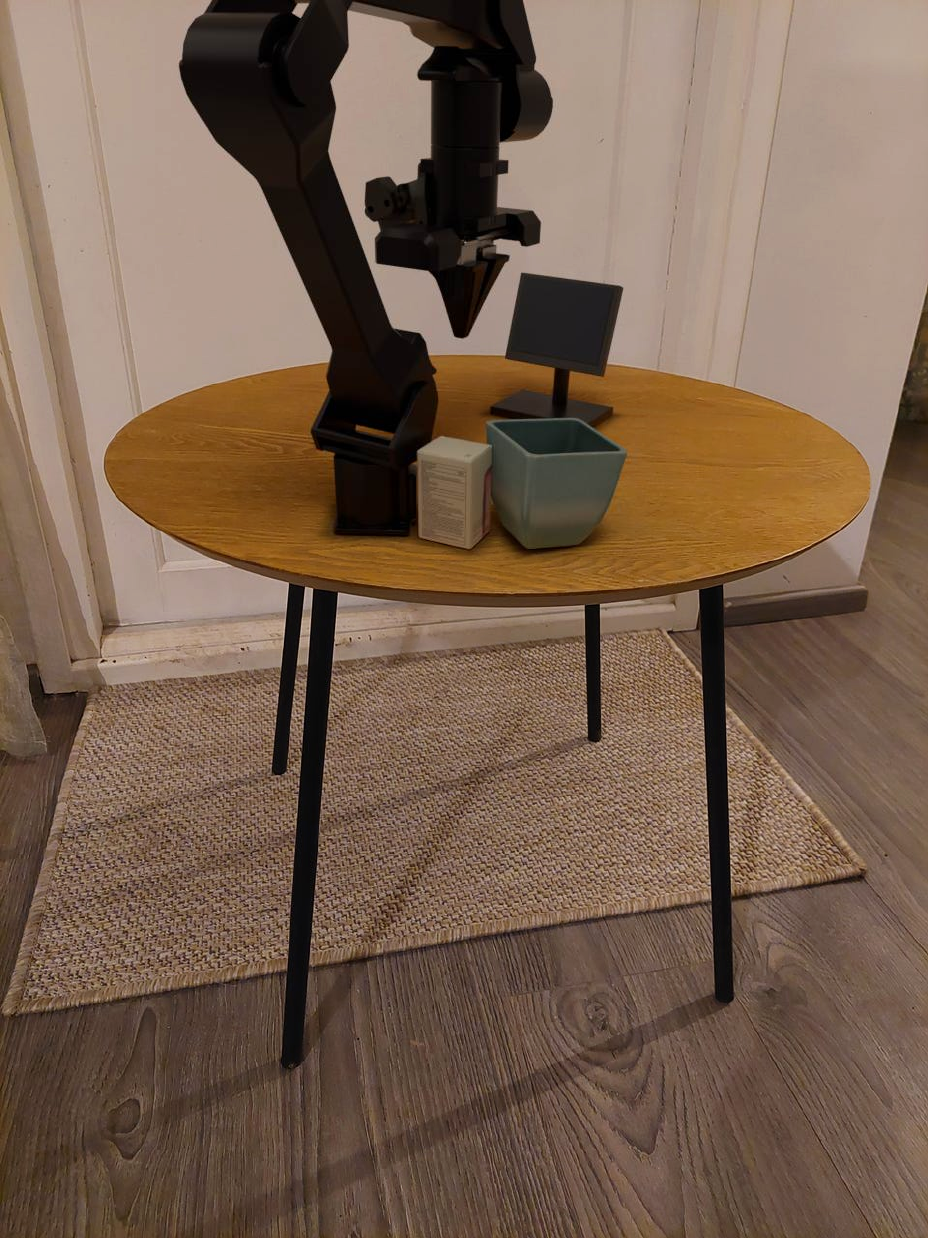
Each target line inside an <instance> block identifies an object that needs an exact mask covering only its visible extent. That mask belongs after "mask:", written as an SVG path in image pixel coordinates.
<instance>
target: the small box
mask: <svg viewBox="0 0 928 1238" xmlns="http://www.w3.org/2000/svg"><path fill="white" fill-rule="evenodd" d="M416 466H417V477H418V508H417V517H418V519H417V521H418V522H417V523H418V525H417V527H418V529H417V530H418V538H419V539H423V540H428V541H430V542H436V543H441V544H445V545H449V546H453V547H457V548H462V549H465V550H471V549H472V548H474V547H475V546H476V545H477V543H478V544H479V542H480V541H481V540H482V539H483V538H484V537H485V536H486V535H487V534H488V533H489V532H490V531H491V511H492V510H491V508H492V507H491V505H492V497H491V470H492V445H489V444H487V443H483V442H478V441H473V440H466V439H461V438H456V437H449V436H445V435H439V436H438V437H436V438H435V439H434V440H431V442H430V443H429V444H427V445H426V446H424V447H422V448H421V449H419V450H418V451H417V461H416Z"/></svg>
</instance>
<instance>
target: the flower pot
mask: <svg viewBox="0 0 928 1238" xmlns="http://www.w3.org/2000/svg"><path fill="white" fill-rule="evenodd" d="M485 424H486V425H485V426H486V427H485V428H486V431H485V433H486V444H489V445H492V470H491V501H492V503H493V506H494V508H495V511H496V513H497V515H498V517H499V519H500V521H501V524H502V526H503V528H504V529H506V530H507V531H508V532H509V533H510V535H512V537H514V538H515V539H516V540H517V541H518V542H519V543H520V544H521V546H523V547H524V548H526V549H529V550H533V549H534V550H535V549H544V548H545V549H546V548H556V547H569V546H570V547H571V546H578V545H580V544H582V542H583V541H584V540H585V539H587V538H588V537H589V536H590V535H591V534H592V533H593V532H594V530H595V529H596V528H597V527H598V525H599V524H600V523H601V521H602V520H603V518H604V516H605V515H606V513H607V511H608V510H609V507H610V505H611V503H612V501H613V497H614V495H615V492H616V489H617V486H618V482H619V480H620V477H621V473H622V472H623V471H622V470H623V468H624V464H625V462H626V458H627V455H628V453H629V452H628V449H626V448H624V447H623V446H621V445H620V444H618V443H617V442H616V441H614V440H612V439H611V438H609V437H608V436H606V435H605V434H604V433H602V432H600V431H598V430H597V429H595V427H594V428H592V427H591V426H589V425H588V424H586V423H585V422H584V421H582V420H580V419H578V418H552V419H493V420H487V421H486V423H485Z"/></svg>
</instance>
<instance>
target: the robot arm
mask: <svg viewBox="0 0 928 1238" xmlns="http://www.w3.org/2000/svg"><path fill="white" fill-rule="evenodd" d="M298 4H301V5H302V4H308V5H307V7H306V8H305V10H304V11H303V14H302V15H301V17H300V16H298V15H297V14H295V13H293V12H294V11H295V9H296V7H297V6H298ZM349 11H350V12H354V13H358V14H363V15H368V16H372V17H376V18H381V19H385V20H390V21H395V22H400V23H402V24H404V25H406V26H408V28H409V31H410V34H411V35H412V36H413V37H414V38H416V39H417V40H419V41H421V42H422V43H424V44H427V45H428V46H430V47H431V48H433V50H432V52H431V54H430V56H429V57H428V58H427V59H426V60H425V61H424V62H423V63H422V64H421V65H420V66H419V69H418V70H417V73H416V77H417V79H418V80H419V81H422V82H430V157H426V158H420V162H419V163H418V164H417V177H416V179H414V180H411V181H408V182H404V183H399V184H396V182H395V181H394V180H393V178H392V177H391V176H388V175H387V176H379V177H376V178H373V179H370V180H368V181H365V186H364V187H365V188H364V207H365V208H364V215H365V216H366V217H367V218H368V219H369V220H370V221H372V222H373V223H377V224H378V227H379V230H380V231H379V232H378V233H377V235H376V236H375V237H374V263H376V265H382V266H389V267H397V268H403V269H404V268H405V269H410V270H411V269H412V270H417V271H425V272H429V273H430V275H431V276H432V277H433V278H434V279H435V282H436V284H437V287H438V289H439V292H440V295H441V298H442V301H443V305H444V308H445V311H446V315H447V318H448V321H449V325H450V328H451V332H452V335H453V337H454V338H456V339H463V340H464V339H466V338H468V337H469V335H470V334H471V332H472V330H473V327H474V325H475V323H476V322H477V319H478V318H479V317H478V316H479V315H480V313H481V310H482V308H483V306H484V304H485V303H486V301H487V298H488V297H489V294H490V293H491V290H492V289H493V286H494V285H495V283H496V281H497V279H498V277H499V276H500V274H501V272H502V270H503V268H504V266H505V264H506V263H508V262H509V261H510V258H511V256H510V254H506V253H499V252H498V253H497V248H498V247H497V246H498V245H497V244H494V243H495V242H494V241H497V240H504V241H512V242H519V245H520V247H524V248H525V247H526V248H527V247H532V246H535V245H538V244H541V229H542V228H541V227H542V226H541V225H542V221H541V220H540V218H539V217H538V215H537V214H536V213H535V211H534V210H531V209H523V208H512V207H501V206H498V195H499V176H500V175H507V174H509V164H510V163H509V159H500V143H502V144H503V143H513V142H524V141H529V140H533V139H535V138H536V137H538V136H540V135H541V134H542V133H543V132H544V130H545V129H546V128H547V126H548V124H549V123H550V120H551V118H552V113H553V108H554V98H553V97H552V92H551V88H550V86H549V84H548V82H547V80H546V78H545V77H544V76H543V74H541V73H540V72H539V71H537V70H536V69H535V65H536V63H537V54H536V50H535V46H534V42H533V38H532V37H533V36H532V33H531V28H530V24H529V19H528V17H527V12H526V7H525V3H524V0H210V2H209V3H208V5H207V7H206V9H205V10H204V12H203V13H202V14H201V15H199V16H197V17H195V18H194V20H193V21H192V22H191V24H190V25H189V27H187V30H186V34H185V37H184V40H183V43H182V52H181V59H180V60H179V62H178V71H179V76H180V80H181V82H182V83H181V84H182V86H183V89H184V91H185V94H186V96H187V98H188V100H189V102H190V104H191V105H192V107H193V108H194V110H195V111H196V113H197V114H198V116H199V117H200V119H201V121H202V122H203V124H204V125H205V127H206V128H207V130H208V132H209V133H210V135H211V136H212V138H213V140H214V141H215V142H216V144H218V146H219V147H221V148H222V149H223V150H224V151H225V152H226V153H227V154H229V156H231V157H232V158H233V159H234V161H236V162H237V163H238V164H239V165H240V166H242V167H243V168H244V170H246V171H247V172H248V173H249V174H250V175H251V176H252V177H253V178H254V179H255V180H256V182H257V183H258V185H259V187H260V189H261V191H262V194H263V197H264V198H265V200H266V203H267V205H268V208H269V209H270V212H271V214H272V216H273V219H274V220H275V223H276V226H277V228H278V230H279V232H280V235H281V236H282V239H283V241H284V243H285V246H286V248H287V250H288V252H289V254H290V257H291V259H292V261H293V264H294V266H295V268H296V271H297V273H298V276H299V277H300V280H301V281H302V284H303V286H304V288H305V291H306V293H307V295H308V297H309V300H310V302H311V305H312V307H313V309H314V311H315V314H316V315H317V318H318V321H319V322H320V325H321V327H322V329H323V332H324V334H325V336H326V338H327V340H328V343H329V345H330V348H331V354H330V357H329V361H328V365H327V369H326V373H325V379H326V383H327V386H328V392H327V394H326V396H325V399H324V401H323V403H322V406H321V407H320V409H319V411H318V413H317V416H316V418H315V420H314V421H313V424H312V426H311V429H310V434H311V438H312V441H313V443H314V446H315V450H317V451H321V452H328V453H332V454H334V455H333V474H334V475H333V479H334V491H335V492H334V494H335V495H334V497H335V513H336V515H335V519H334V522H333V526H332V530H333V533H334V534H347V535H348V534H349V535H351V534H352V535H388V536H389V535H396V536H406V535H409V534H410V533H411V528H412V521H415V520H416V519H417V517H418V469H417V464H414V463H417V451H418V450H419V449H421V448H422V447H424V446H426V445H427V444H429V443H430V442H432V439H433V433H434V428H435V424H436V418H437V413H438V408H439V392H438V389H437V383H436V380H435V378H434V375H435V374H437V372H438V369H437V368H436V367H435V366H434V364H433V363H432V361H431V359H430V355H429V350H428V345H427V341H426V340H425V338H424V336H423V335H422V334H421V332H416V331H411V330H406V329H405V330H404V329H399V328H395V327H393V325H392V324H391V321H390V319H389V316H388V313H387V310H386V307H385V305H384V301H383V299H382V297H381V294H380V292H379V288H378V285H377V283H376V280H375V278H374V274H373V272H372V270H371V267H370V264H369V262H368V259H367V256H366V253H365V250H364V248H363V247H364V246H363V244H362V242H361V240H360V235H359V234H358V231H357V228H356V226H355V223H354V220H353V217H352V215H351V212H350V209H349V207H348V206H349V205H348V204H347V201H346V199H345V196H344V192H343V190H342V187H341V184H340V182H339V179H338V177H337V174H336V171H335V168H334V165H333V162H332V160H331V156H330V152H329V149H330V143H331V139H332V134H333V129H334V122H335V117H336V112H337V103H336V99H335V94H334V90H333V85H332V79H333V78H334V76H335V74H336V72H337V71H338V69H339V68H340V66H341V63H342V62H343V60H344V58H345V57H346V55H347V53H348V52H349V47H350V41H349V40H350V39H349V20H348V19H349V17H348V12H349ZM357 426H359V427H362V428H363V427H364V428H368V429H372V430H375V431H380V432H383V433H388V434H393V436H392V437H387V436H383V435H379V434H376V433H372V432H366V431H363V430H358V429H356V428H357Z"/></svg>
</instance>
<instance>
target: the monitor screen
mask: <svg viewBox="0 0 928 1238" xmlns="http://www.w3.org/2000/svg"><path fill="white" fill-rule="evenodd" d="M623 292H624V286H621V285H618V284H612V283H611V284H610V283H604V282H595V281H588V280H580V279H575V278H565V277H559V276H551V275H545V274H537V273H529V272H520V277H519V281H518V287H517V293H516V298H515V302H514V307H513V313H512V319H511V325H510V329H509V335H508V339H507V346H506V349H505V356H504V359H505V360H509V361H514V362H521V363H525V364H530V365H536V366H541V367H547V368H551V369H554V368H557V369H562V370H568V371H570V372H574V373H579V374H584V375H589V376H590V375H592V376H595V377H602V378H604V377H605V373H606V369H607V365H608V362H609V361H608V360H609V356H610V352H611V348H612V342H613V338H614V334H615V333H614V332H615V328H616V325H617V320H618V316H619V310H620V306H621V302H622V297H623Z"/></svg>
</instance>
